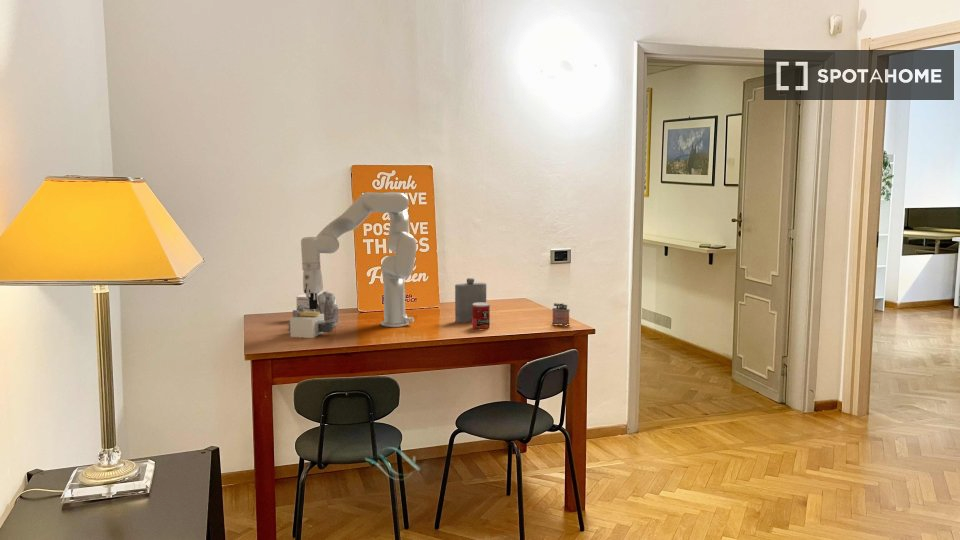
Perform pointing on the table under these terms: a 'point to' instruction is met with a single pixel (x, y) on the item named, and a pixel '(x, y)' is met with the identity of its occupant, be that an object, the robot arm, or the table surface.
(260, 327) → the table surface
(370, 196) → the robot arm
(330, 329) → the pin
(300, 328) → the block
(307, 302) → the ink box
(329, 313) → the figurine
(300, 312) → the lever
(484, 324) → the canned food
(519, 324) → the table surface
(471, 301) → the flask
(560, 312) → the lighter
